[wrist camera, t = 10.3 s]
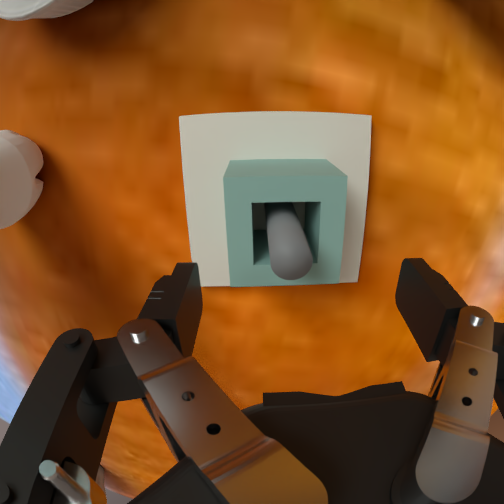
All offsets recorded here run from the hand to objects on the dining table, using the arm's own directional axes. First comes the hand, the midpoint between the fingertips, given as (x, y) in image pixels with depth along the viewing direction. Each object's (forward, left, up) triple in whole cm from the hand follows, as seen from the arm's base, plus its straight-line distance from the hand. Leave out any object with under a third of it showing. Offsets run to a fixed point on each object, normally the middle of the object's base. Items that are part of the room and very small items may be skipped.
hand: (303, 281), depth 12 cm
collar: (0, 0, -10) cm, 10 cm away
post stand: (0, 0, -11) cm, 11 cm away
